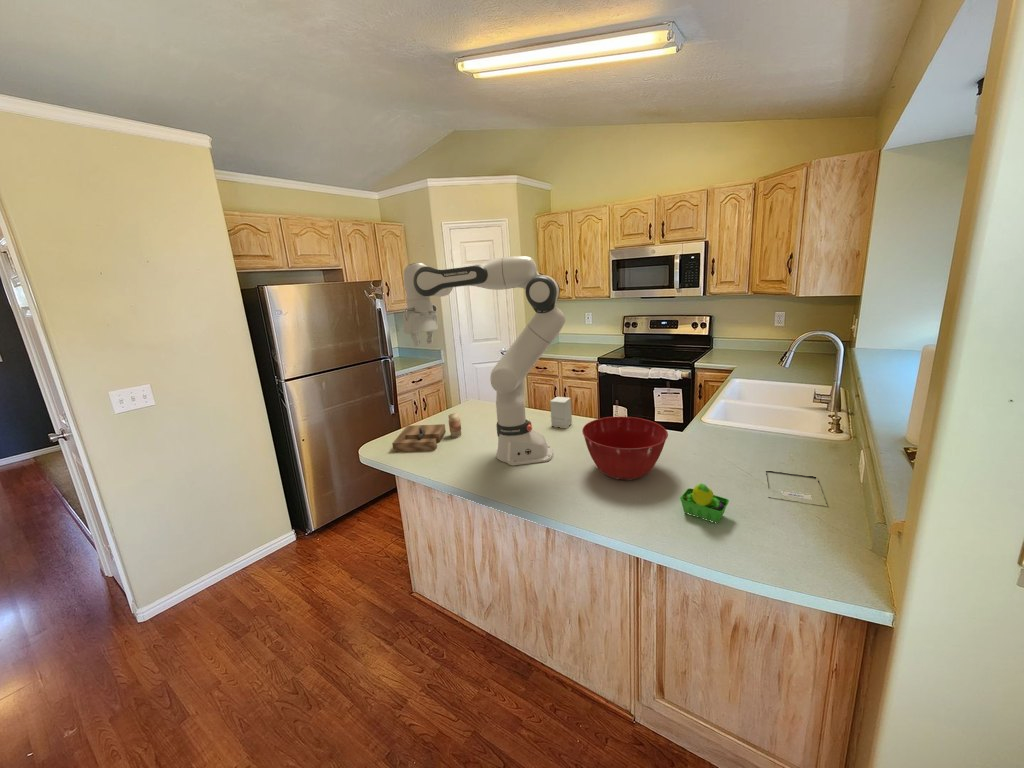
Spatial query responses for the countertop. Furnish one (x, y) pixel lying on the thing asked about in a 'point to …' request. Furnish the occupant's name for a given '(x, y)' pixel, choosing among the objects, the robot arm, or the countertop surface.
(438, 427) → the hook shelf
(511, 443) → the robot arm
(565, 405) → the supplement box
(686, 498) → the fruit basket
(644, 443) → the mixing bowl
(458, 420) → the cord spool
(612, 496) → the countertop surface
